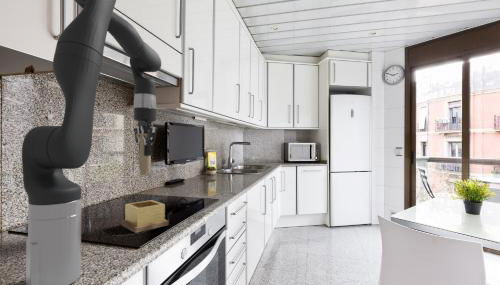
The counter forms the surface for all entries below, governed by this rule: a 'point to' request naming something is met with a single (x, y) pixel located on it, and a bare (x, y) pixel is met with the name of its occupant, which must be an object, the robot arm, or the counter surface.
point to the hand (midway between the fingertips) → (144, 155)
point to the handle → (143, 156)
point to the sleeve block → (144, 216)
